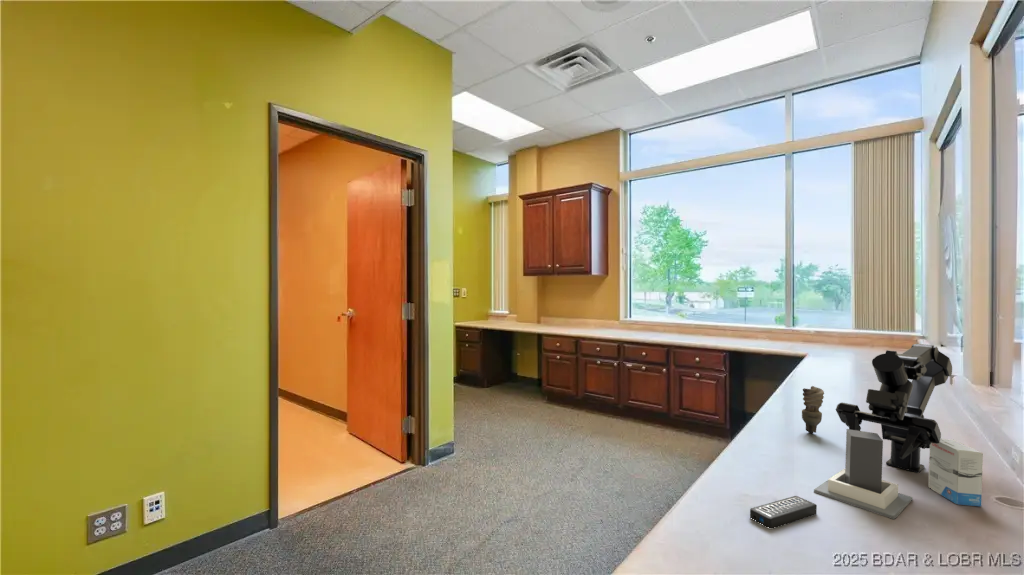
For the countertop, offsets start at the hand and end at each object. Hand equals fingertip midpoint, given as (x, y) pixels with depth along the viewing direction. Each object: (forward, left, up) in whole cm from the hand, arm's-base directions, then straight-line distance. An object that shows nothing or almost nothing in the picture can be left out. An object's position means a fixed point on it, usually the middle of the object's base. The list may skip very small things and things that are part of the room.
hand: (875, 451), depth 103 cm
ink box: (-9, +12, -8) cm, 17 cm away
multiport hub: (+32, -7, -9) cm, 34 cm away
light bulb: (-30, -23, -8) cm, 39 cm away
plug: (+8, 0, -8) cm, 11 cm away
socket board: (+8, 0, -8) cm, 12 cm away
